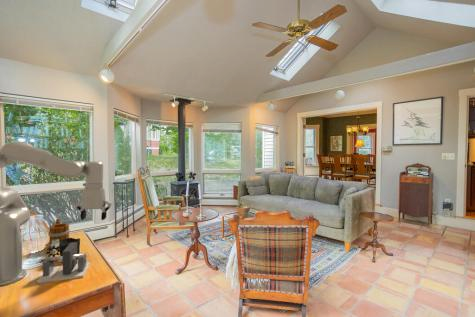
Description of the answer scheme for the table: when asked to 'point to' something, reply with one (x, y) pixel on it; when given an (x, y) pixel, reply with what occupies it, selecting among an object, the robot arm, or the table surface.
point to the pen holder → (66, 242)
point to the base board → (58, 274)
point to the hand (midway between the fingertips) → (93, 219)
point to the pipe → (49, 260)
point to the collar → (69, 258)
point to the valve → (54, 248)
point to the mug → (58, 231)
